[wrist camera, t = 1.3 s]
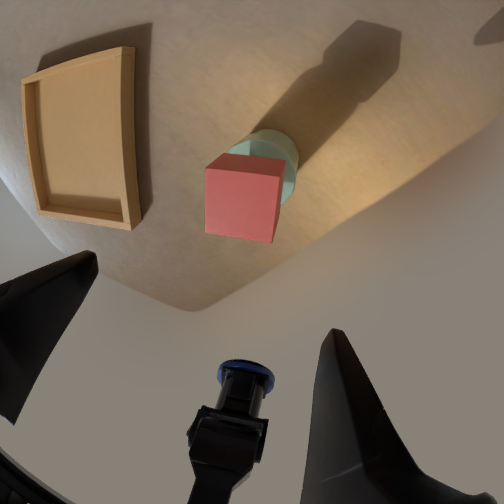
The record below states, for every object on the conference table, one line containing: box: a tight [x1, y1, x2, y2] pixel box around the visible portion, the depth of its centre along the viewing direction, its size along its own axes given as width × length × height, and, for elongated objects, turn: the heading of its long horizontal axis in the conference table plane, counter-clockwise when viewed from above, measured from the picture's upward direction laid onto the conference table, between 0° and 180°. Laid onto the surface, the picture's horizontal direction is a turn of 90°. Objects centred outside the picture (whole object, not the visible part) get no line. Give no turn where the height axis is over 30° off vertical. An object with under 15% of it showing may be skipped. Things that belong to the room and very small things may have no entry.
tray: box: [21, 46, 142, 231], centre depth 22 cm, size 17×15×2 cm
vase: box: [228, 129, 299, 206], centre depth 19 cm, size 5×5×5 cm
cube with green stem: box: [205, 153, 286, 243], centre depth 17 cm, size 3×3×9 cm
